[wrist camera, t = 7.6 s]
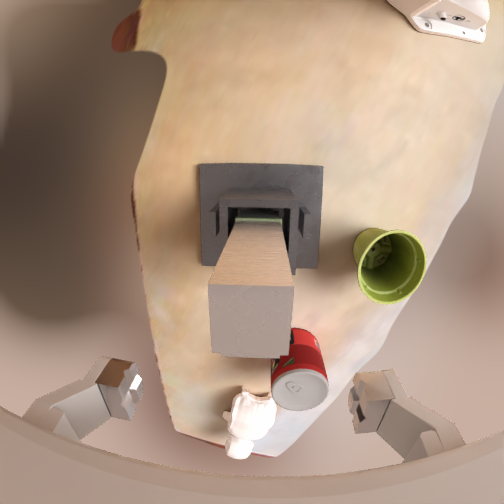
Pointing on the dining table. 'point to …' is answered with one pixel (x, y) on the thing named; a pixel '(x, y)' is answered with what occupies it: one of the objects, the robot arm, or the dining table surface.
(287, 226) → the stand
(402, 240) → the plant pot
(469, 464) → the robot arm
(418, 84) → the dining table surface
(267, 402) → the white molar tooth
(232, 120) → the dining table surface
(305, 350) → the canned food
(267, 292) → the column
